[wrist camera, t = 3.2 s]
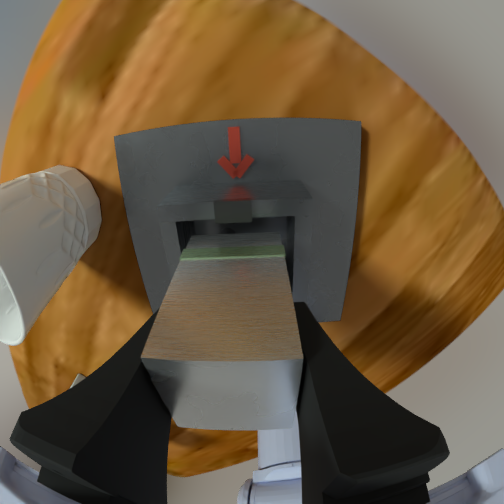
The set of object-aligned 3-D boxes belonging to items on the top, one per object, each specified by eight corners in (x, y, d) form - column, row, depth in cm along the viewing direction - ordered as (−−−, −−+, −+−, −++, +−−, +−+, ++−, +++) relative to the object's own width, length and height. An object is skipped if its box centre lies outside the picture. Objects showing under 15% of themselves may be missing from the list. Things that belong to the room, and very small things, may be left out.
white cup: (42, 141, 14) (-66, 185, 5) (124, 183, 16) (19, 261, 7) (27, 230, 17) (-50, 297, 8) (97, 273, 19) (31, 367, 10)
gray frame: (337, 312, 21) (353, 357, 16) (160, 316, 21) (143, 361, 17) (355, 120, 14) (392, 125, 10) (121, 134, 14) (78, 146, 10)
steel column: (279, 303, 14) (293, 428, 8) (202, 305, 14) (177, 427, 8) (280, 230, 12) (305, 357, 6) (190, 234, 13) (138, 355, 6)
